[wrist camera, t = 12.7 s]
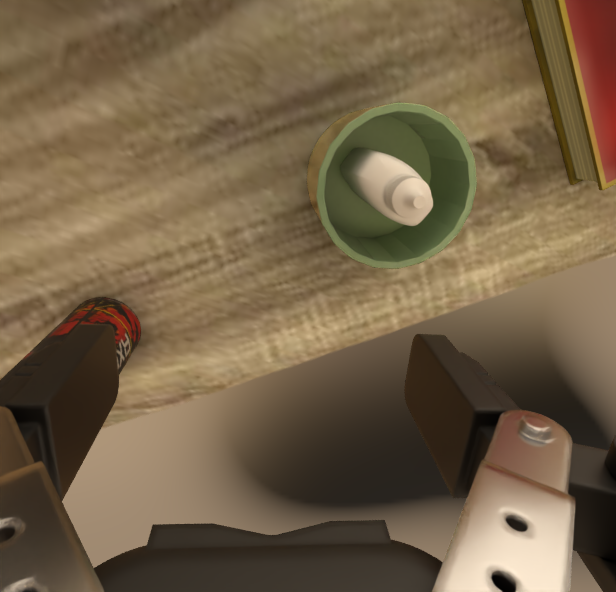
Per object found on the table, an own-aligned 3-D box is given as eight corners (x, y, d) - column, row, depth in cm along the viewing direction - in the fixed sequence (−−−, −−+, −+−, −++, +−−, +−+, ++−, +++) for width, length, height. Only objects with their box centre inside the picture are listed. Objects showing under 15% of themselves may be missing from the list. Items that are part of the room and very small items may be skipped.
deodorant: (153, 342, 40) (92, 458, 26) (95, 368, 40) (4, 495, 26) (117, 286, 38) (30, 379, 24) (56, 313, 38) (-65, 421, 24)
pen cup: (313, 101, 34) (326, 94, 27) (445, 115, 35) (493, 112, 28) (301, 236, 38) (309, 263, 30) (421, 245, 39) (457, 273, 31)
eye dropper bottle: (386, 133, 35) (443, 137, 24) (407, 200, 37) (468, 233, 26) (334, 155, 35) (366, 169, 24) (357, 220, 37) (397, 261, 26)
